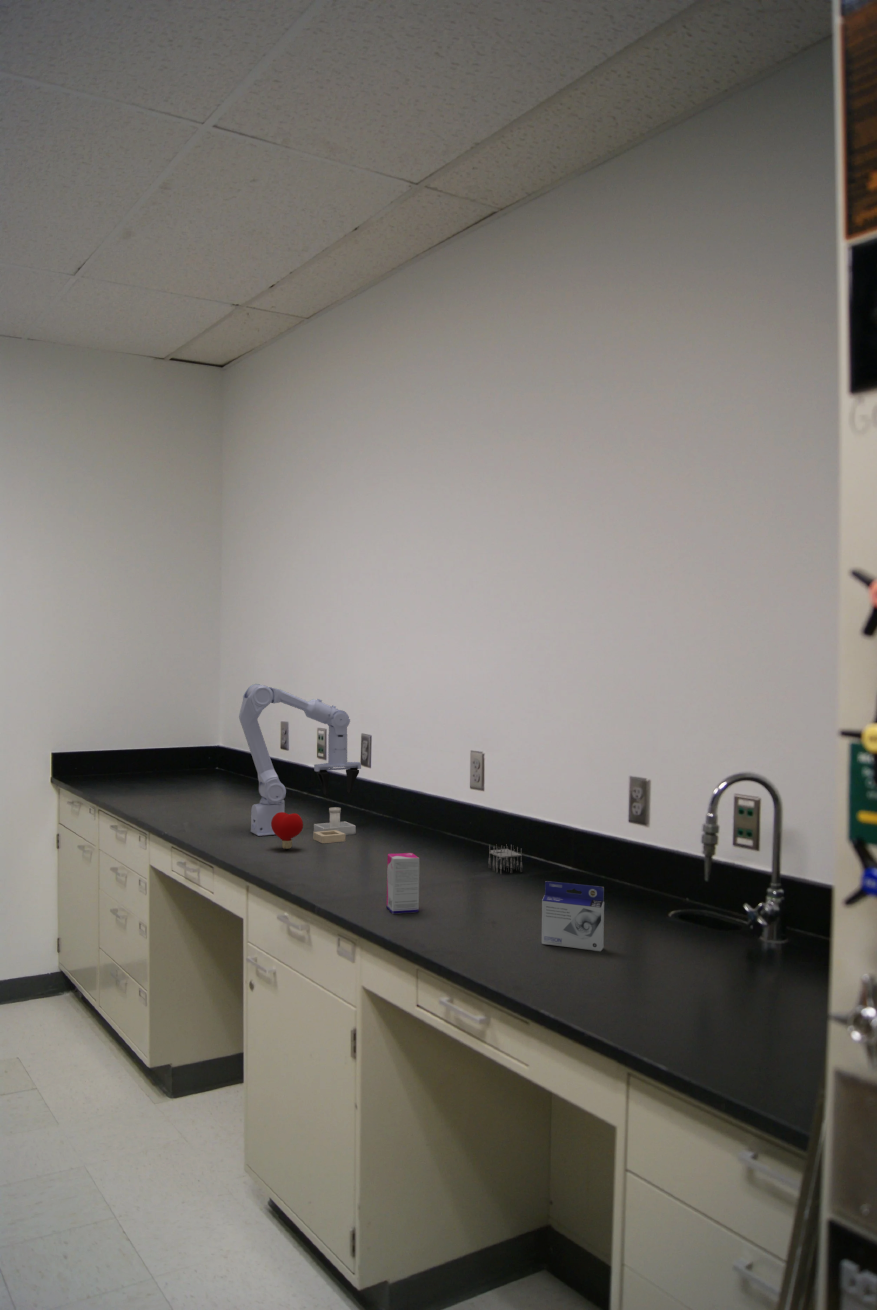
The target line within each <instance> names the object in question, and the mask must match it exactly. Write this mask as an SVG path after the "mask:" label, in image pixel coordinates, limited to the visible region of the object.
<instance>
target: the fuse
mask: <svg viewBox="0 0 877 1310" xmlns="http://www.w3.org/2000/svg"><path fill="white" fill-rule="evenodd" d="M341 810H342V808H341V807H337V806H334V807H329V808H328V813H329V823H330V828H333V827H340V822H341V813H342V811H341Z"/></svg>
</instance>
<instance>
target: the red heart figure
mask: <svg viewBox="0 0 877 1310" xmlns="http://www.w3.org/2000/svg"><path fill="white" fill-rule="evenodd" d="M271 827H272V830H273V832H274V833H275V834H274V835H275V836H276V837H278V838H279V839H280V840H281V847H282V848H283V850H285V851H289V850H290V849H291V848H292V847H293V838H295V837H297V836H298V835H300V834H301V833H302V830H303V828H304V822H303V818H302V817H301V816H300V815H299V814H298V813H295V812H294V813H289V814H288V813H287V812H285V811H284V812H280V813H277V814H276V815H275V816H274V817H273V818H272V821H271Z"/></svg>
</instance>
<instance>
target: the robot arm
mask: <svg viewBox="0 0 877 1310" xmlns="http://www.w3.org/2000/svg"><path fill="white" fill-rule="evenodd" d="M279 703H283V704H285V705H288V706H290V707H291V708H292V707H293V708H295V709H298V710H301V711H303V712H304V714H305V716H306V718H309V719H311V720H313V721H316V722H318V723H320V724H324V725H327V726H328V734H327V735H328V738H327V739H328V747H327V748H328V752H327V754H328V757H327V758H328V762H325V763H317V764H313V765H314V767H313V768H314V772H316V775H317V777H318V780H319V782H320V784H321V788H322V792H323V795H325V796H329V792H330V791H329V790H330V789H329V781H330V775H331V773H329V772H328V771H340V770H341V771H342V770H345V774H346V775H345V776H346V792H347V794H352V792H353V789H354V785H355V782H356V779H357V778H358V776H359V774H360V770H361V769H362V762H360V761H354V762H353V761H348V727H349V726H350V724H351V723H350V722H351V719H350V716H349V714H348V713H347V712H346V711H345V710H343V709H342V710H341V709H338V708H337V706H336V705H334V704H333V705H332V706H331V705H329V704H327V703H324V702H323V700H322V699H320V698H317V699H314V698H313V699H311V700H309V701H308V700H306V699H303V698H301V697H299V696H297V695H294V694H291V693H289V692H287V691H285V690H283V689H281V688H276V687H271V686H267V685H265V684H264V685H263V684H259V683H255V684H252V685H250V686H249V687H248V688H247V689H246V691H245V692H244V693H243V695H242V701H241V706H240V711H239V715H238V718H239V722H240V725H241V727H242V731H243V734H244V737H245V740H246V743H247V746H248V748H249V752H250V754H251V756H252V760H253V763H254V766H255V770H256V772H257V780H258V793H259V795H260V796H261V799H260V800H259V803H255V804H253V805H252V806H251V808H250V809H251V810H250V811H251V812H250V815H251V816H250V822H251V823H250V824H251V825H250V832H251V833H252V834H253V835H256V836H257V837H261V836H262V837H264V836H271V835H273V836H274V835H276V834H275V833H274V832H273V830H272V827H271V821H272V818H273V817H274V816H275V815H276V814H277V813H280V812H284V813H285V810H286V809H285V808H286V807H285V804H286V803H285V802H286V801H285V800H284V799H285V798H286V793H287V788H286V787H285V785H284V784H283V783H282V782H281V781H280V779H279V775H278V774H277V772H276V770H275V768H274V765H273V763H272V760H271V756H270V754H269V750H268V748H267V744H266V741H265V739H264V735H263V733H262V729H261V727H260V723H259V721H258V720H259V719H258V718H259V717H260V715H261V714H262V712H263V711H264V710H265V709H266V708H267V707H268V706H269V705H270V704H279Z"/></svg>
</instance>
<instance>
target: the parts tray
mask: <svg viewBox="0 0 877 1310" xmlns="http://www.w3.org/2000/svg"><path fill="white" fill-rule="evenodd" d="M331 830H337V831H340V832H342V833H344V834H345V836H351V835H352V836H353V835H356V831H357V830H356V825H355V824H353V823H350V822H347V821H340V827H333V828H330V822H325V823H324V822H323V823H313V832H320V831H331Z"/></svg>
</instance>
